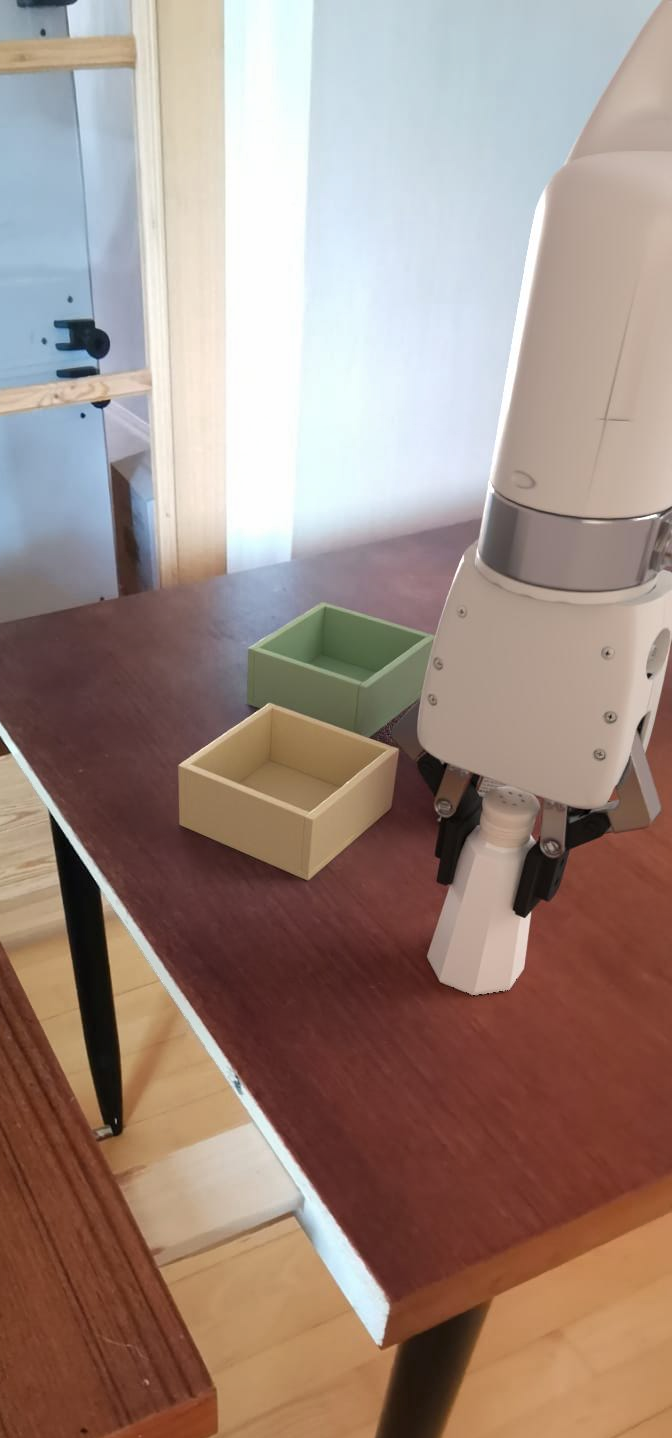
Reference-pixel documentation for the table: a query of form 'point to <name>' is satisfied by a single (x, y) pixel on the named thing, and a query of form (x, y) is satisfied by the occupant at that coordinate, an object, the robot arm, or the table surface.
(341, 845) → the cream bin
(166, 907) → the table surface
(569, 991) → the table surface
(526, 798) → the pepper shaker
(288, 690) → the green bin
